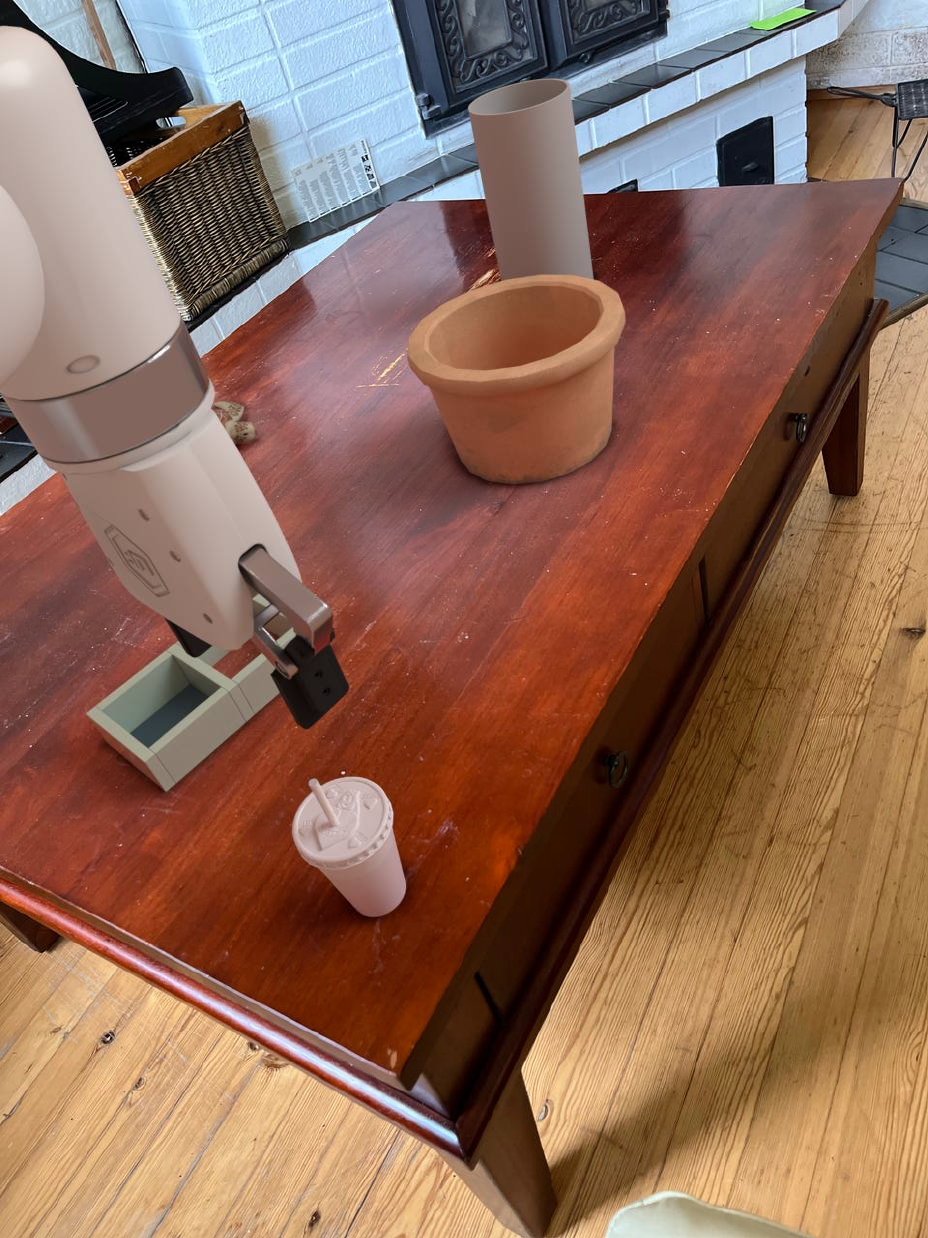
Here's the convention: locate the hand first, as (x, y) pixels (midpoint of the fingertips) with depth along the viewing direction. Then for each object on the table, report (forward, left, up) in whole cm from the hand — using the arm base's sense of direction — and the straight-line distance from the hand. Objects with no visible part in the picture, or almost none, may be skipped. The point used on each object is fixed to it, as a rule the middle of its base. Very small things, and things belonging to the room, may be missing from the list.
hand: (265, 672), depth 49 cm
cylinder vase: (+80, +47, -23) cm, 95 cm away
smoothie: (0, 0, -23) cm, 23 cm away
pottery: (+49, +25, -23) cm, 59 cm away
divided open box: (+5, +26, -23) cm, 35 cm away
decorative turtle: (+31, +65, -23) cm, 75 cm away
